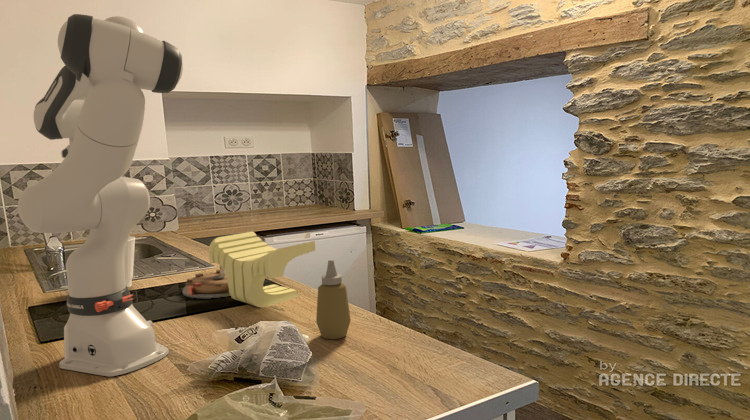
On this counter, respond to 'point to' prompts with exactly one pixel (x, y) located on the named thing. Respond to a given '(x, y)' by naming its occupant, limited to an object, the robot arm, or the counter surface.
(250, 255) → the slatted curved stool
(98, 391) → the counter surface
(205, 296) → the base plate
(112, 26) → the robot arm
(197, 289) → the brown piece
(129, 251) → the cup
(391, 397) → the counter surface
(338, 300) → the squeeze bottle
